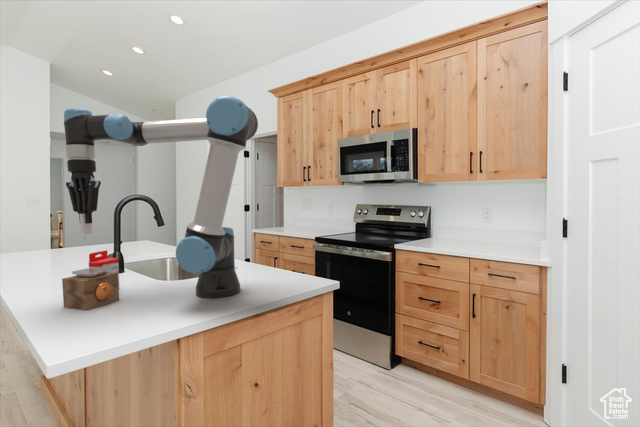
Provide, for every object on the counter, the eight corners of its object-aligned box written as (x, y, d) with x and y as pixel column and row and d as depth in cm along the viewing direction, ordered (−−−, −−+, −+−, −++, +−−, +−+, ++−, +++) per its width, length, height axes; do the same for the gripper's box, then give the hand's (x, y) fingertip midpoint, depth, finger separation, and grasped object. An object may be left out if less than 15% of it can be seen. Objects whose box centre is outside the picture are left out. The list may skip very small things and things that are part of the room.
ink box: (102, 296, 125) (99, 254, 124) (89, 295, 126) (87, 253, 125) (120, 289, 133) (118, 250, 132) (108, 289, 134) (106, 249, 133)
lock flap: (106, 274, 117) (106, 271, 117) (90, 278, 112) (90, 275, 112) (88, 270, 120) (88, 267, 120) (71, 274, 115) (71, 271, 115)
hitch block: (119, 299, 120) (117, 273, 119) (86, 310, 109) (84, 281, 109) (97, 296, 124) (96, 270, 123) (63, 307, 113) (62, 278, 112)
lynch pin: (113, 297, 117) (112, 280, 116) (97, 302, 112) (96, 284, 111) (89, 294, 121) (88, 277, 120) (72, 299, 116) (71, 281, 115)
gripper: (107, 159, 115) (112, 232, 117) (78, 161, 120) (84, 232, 121) (84, 157, 108) (89, 235, 110) (55, 160, 113) (61, 235, 115)
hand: (86, 233), depth 116 cm, fingers closed
